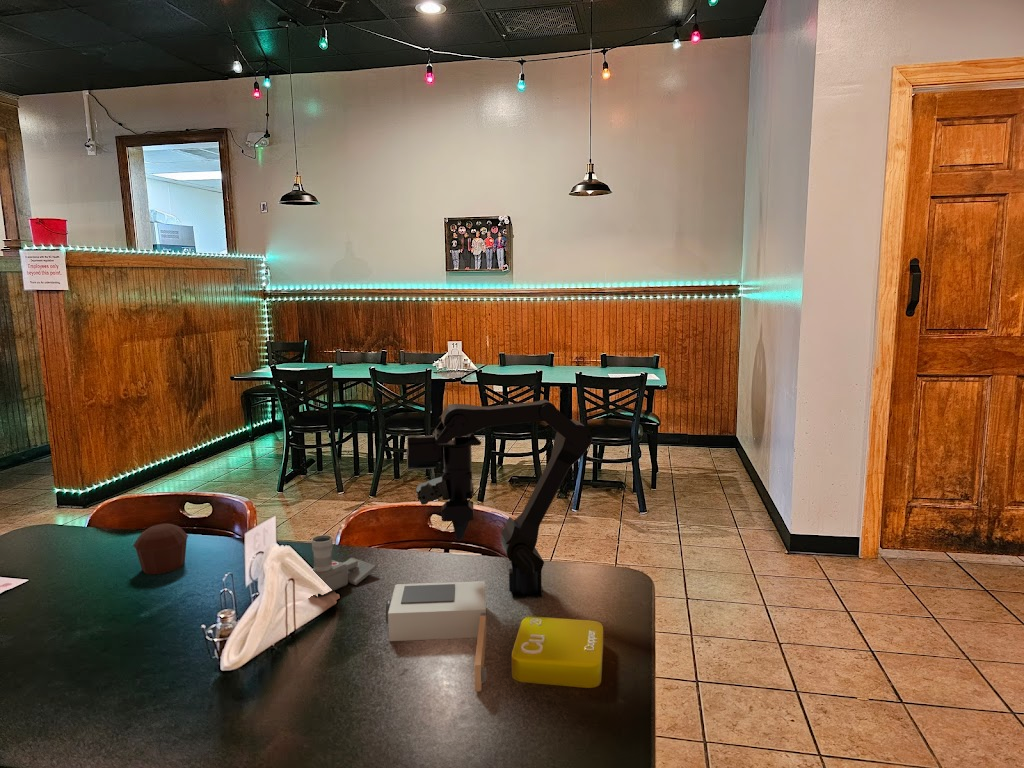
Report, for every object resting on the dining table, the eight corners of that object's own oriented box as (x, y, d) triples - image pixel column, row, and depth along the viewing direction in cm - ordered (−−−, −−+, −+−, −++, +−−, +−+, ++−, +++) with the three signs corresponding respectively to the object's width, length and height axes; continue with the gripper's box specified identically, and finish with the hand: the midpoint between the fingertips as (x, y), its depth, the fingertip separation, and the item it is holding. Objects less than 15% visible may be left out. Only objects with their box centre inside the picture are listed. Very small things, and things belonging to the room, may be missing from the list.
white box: (485, 606, 134) (484, 579, 133) (486, 637, 122) (485, 608, 121) (391, 610, 133) (390, 583, 132) (383, 641, 121) (382, 612, 120)
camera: (296, 538, 140) (350, 519, 153) (298, 590, 142) (352, 567, 154) (322, 547, 135) (376, 527, 148) (324, 601, 137) (377, 576, 149)
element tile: (600, 691, 106) (600, 663, 105) (509, 683, 108) (509, 656, 108) (603, 642, 121) (603, 618, 120) (523, 636, 123) (522, 612, 122)
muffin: (158, 555, 162) (155, 517, 160) (200, 557, 160) (196, 518, 159) (124, 576, 150) (120, 535, 149) (168, 578, 149) (164, 536, 147)
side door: (481, 635, 122) (480, 612, 121) (490, 635, 122) (490, 612, 121) (474, 691, 105) (474, 665, 104) (486, 691, 105) (485, 665, 104)
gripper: (421, 456, 142) (423, 524, 144) (413, 480, 124) (416, 559, 126) (472, 454, 143) (474, 523, 145) (472, 479, 124) (474, 557, 127)
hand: (459, 539), depth 136 cm, fingers closed
